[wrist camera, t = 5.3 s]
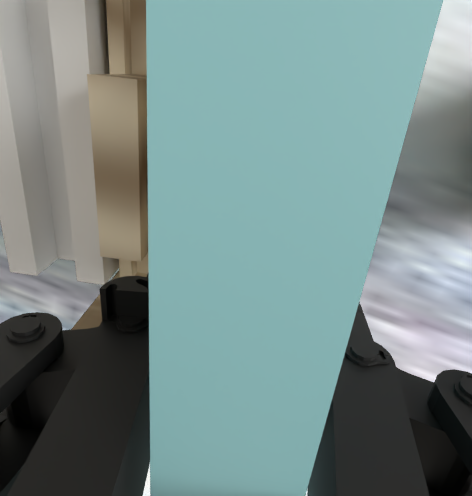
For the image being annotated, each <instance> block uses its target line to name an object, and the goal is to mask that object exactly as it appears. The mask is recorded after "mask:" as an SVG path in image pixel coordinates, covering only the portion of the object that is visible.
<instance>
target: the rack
mask: <svg viewBox="0 0 472 496" xmlns="http://www.w3.org/2000/svg"><path fill="white" fill-rule="evenodd" d="M106 10H107V30H108V50H109V70H110V74H139V75H147V48H146V0H106ZM148 273H149V271H148V253H147V254H146V255H145V257H144V258H143V260H142V261H141V262H138V261H131V260H123V259H119V271H118V272H117V274H116V275H115V276H114V277H113V279H115V278H120V277H124V276H142V277H147V274H148ZM113 279H112V280H113ZM101 322H102V313H101V300H100V295H99V296H98V297H97V298H96V300H95V301H94V302H93V303H92V304H91V306H90V307H89V308H88V309H87V311H86V312H85V313H84V314H83V316H82V317H81V318H80V319H79V321H78V322H77V323H76V324H75V325H74V327H73V328H72V329H71V330H77V329H88V328H95V327H98V326H99V325H100V324H101Z"/></svg>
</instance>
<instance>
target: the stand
mask: <svg viewBox="0 0 472 496" xmlns="http://www.w3.org/2000/svg"><path fill="white" fill-rule="evenodd" d="M87 74H110V70H109V50H108V30H107V10H106V0H0V222H1V227H2V232H3V237H4V243H5V248H6V253H7V258H8V263H9V268H10V272H13V273H20V274H28V275H35V276H38V275H39V274H40V273H41V272H42V271H44V270H45V269H46V268H47V267H48V266H50V265H51V264H52V263H53V262H54V261H56V260H57V259H64V260H72V261H75V267H76V277H77V281H79V282H87V283H94V284H101V285H104V284H105V283H107V281H108V280H109V279H110V278H111V276H112V275H113V274H114V273H115V272H116V270H117V269H118V268H119V259H115V258H108V257H100V245H99V231H98V218H97V204H96V191H95V177H94V163H93V150H92V136H91V123H90V109H89V95H88V82H87Z"/></svg>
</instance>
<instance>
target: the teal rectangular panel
mask: <svg viewBox="0 0 472 496" xmlns="http://www.w3.org/2000/svg"><path fill="white" fill-rule="evenodd" d="M442 3H443V0H146V48H147V159H148V271H149V382H150V493H151V496H305V495H306V491H307V488H308V484H309V480H310V477H311V473H312V470H313V466H314V462H315V459H316V455H317V452H318V448H319V444H320V441H321V437H322V434H323V430H324V426H325V423H326V419H327V416H328V412H329V409H330V405H331V401H332V398H333V394H334V391H335V387H336V383H337V380H338V376H339V373H340V369H341V365H342V362H343V358H344V355H345V351H346V347H347V344H348V340H349V337H350V333H351V330H352V326H353V322H354V319H355V315H356V312H357V308H358V304H359V301H360V297H361V294H362V290H363V286H364V283H365V279H366V276H367V272H368V268H369V265H370V261H371V258H372V254H373V251H374V247H375V243H376V240H377V236H378V233H379V229H380V225H381V222H382V218H383V215H384V211H385V207H386V204H387V200H388V197H389V193H390V189H391V186H392V182H393V179H394V175H395V172H396V168H397V164H398V161H399V157H400V154H401V150H402V146H403V143H404V139H405V136H406V132H407V128H408V125H409V121H410V118H411V114H412V110H413V107H414V103H415V100H416V96H417V93H418V89H419V85H420V82H421V78H422V75H423V71H424V67H425V64H426V60H427V57H428V53H429V49H430V46H431V42H432V39H433V35H434V31H435V28H436V24H437V21H438V17H439V14H440V10H441V6H442Z"/></svg>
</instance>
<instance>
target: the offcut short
mask: <svg viewBox="0 0 472 496" xmlns="http://www.w3.org/2000/svg"><path fill="white" fill-rule="evenodd" d="M87 82H88V95H89V109H90V123H91V136H92V150H93V163H94V177H95V191H96V204H97V218H98V231H99V245H100V257H108V258H115V259H123V260H131V261H138V262H141V261H142V260H143V258H144V257H145V255H146V254H147V253H148V159H147V75H139V74H87Z"/></svg>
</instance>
